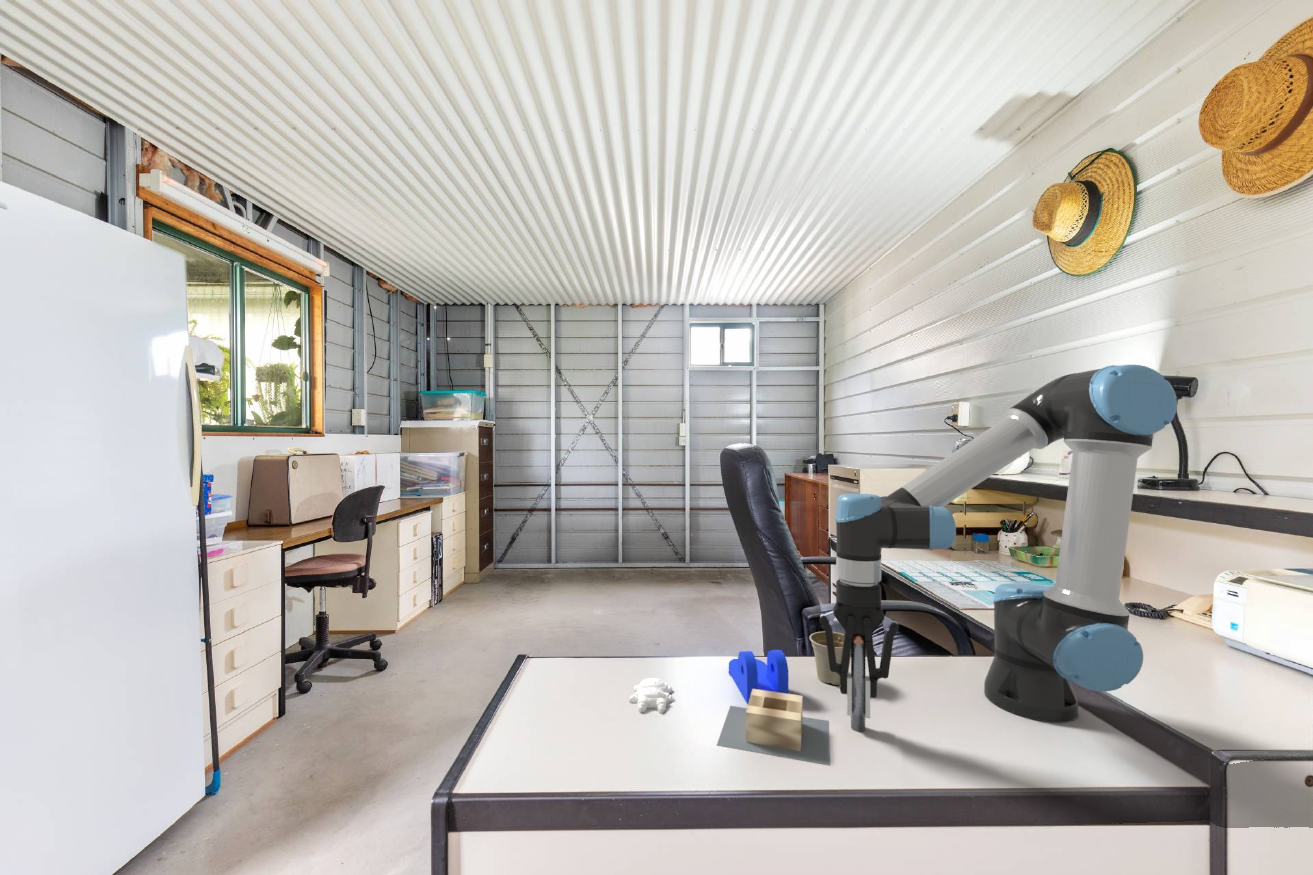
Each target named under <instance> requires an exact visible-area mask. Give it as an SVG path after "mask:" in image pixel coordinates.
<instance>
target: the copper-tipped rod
mask: <svg viewBox="0 0 1313 875" xmlns="http://www.w3.org/2000/svg"><path fill="white" fill-rule="evenodd" d="M865 644H866V642H865V636H864V635H861V634H853V638H852V644H851V658H850V673H851V677H852V716H850V728H851V730H853V731H854V732H857V733H863V732H865V731H866V717H865V674H866V645H865Z"/></svg>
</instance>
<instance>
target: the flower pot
mask: <svg viewBox="0 0 1313 875" xmlns="http://www.w3.org/2000/svg"><path fill="white" fill-rule="evenodd" d="M833 639H834V647H835V655H836V663H839V664H840V663H841V656H842V648H843V640H844V633H841V632H835V631H833ZM809 640H810V642H811V646H812V648H813V653H814V659H815V660H814V661H815V668H816V676H817V678H818V680H819V681H820V682H822V683H825V684H832V685H833V686H840V675H839V674H838V673H836V672H832V671H831V670H830V666H829V658H828V650H827V642H826V634H825V630H824V631H817V632H813V633H811V634H810V635H809ZM850 666H851V652H850V659H849V667H848V672H850V671H849V670H850Z"/></svg>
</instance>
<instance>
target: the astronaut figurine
mask: <svg viewBox="0 0 1313 875" xmlns="http://www.w3.org/2000/svg"><path fill="white" fill-rule="evenodd" d="M670 693H671V694H670ZM672 693H673V687H672V686H671V685H668V683H667V682H666V681H664V680H663V679H660V678H657V677H649V678H644V679H643V680H641V681H640V682H639V684H636V685H634V686H633V694H631V696H630V697H629V698H628V699H629V700H628V701H629V703H631V704H632V703H633V704H635V703H637V709H638V712H639V713H645V712H646V711H647V710H648V709H655V710H657V712H658V714H661V715H663V714H664V713H665V712H666V710H667V704H672V703H673V702H675V697H674V696H673V695H672Z"/></svg>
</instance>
